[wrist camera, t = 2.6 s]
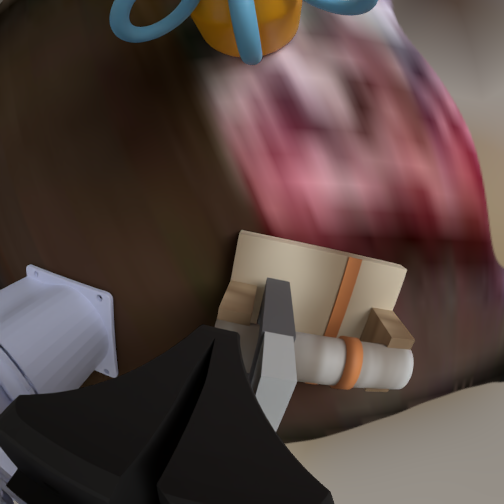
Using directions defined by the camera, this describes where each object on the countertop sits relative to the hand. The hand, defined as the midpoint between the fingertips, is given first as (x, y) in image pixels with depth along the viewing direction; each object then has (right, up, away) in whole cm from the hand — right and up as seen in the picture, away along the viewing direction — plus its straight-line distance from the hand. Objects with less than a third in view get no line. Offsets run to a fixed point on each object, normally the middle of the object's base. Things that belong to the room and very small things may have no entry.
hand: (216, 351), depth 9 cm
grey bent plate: (+2, -1, +6) cm, 6 cm away
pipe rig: (+5, -1, +8) cm, 9 cm away
